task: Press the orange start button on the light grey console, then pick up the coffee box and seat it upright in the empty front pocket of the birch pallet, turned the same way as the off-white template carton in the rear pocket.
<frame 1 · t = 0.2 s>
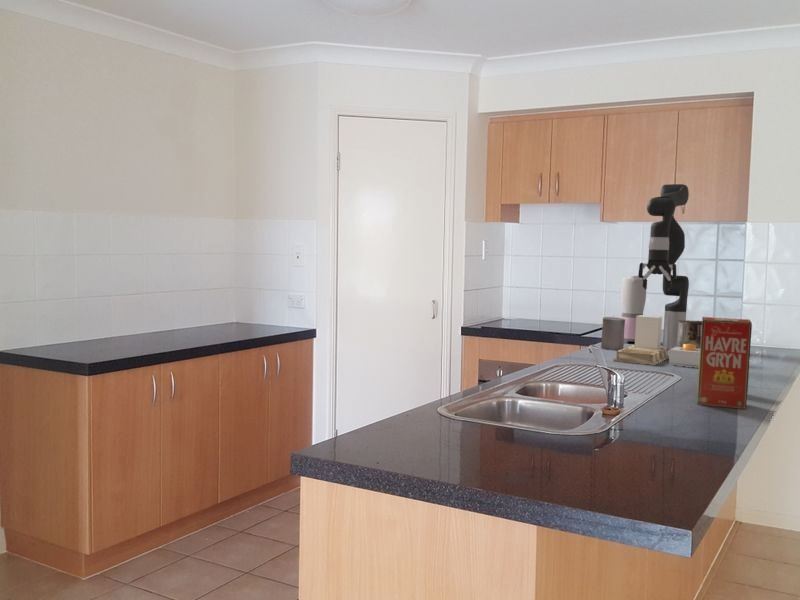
hand: (656, 289, 301), 29 cm above the counter, tool pointing down, fingers open, 8 cm apart
template carton: (646, 357, 312), resting on pallet
pillar candle: (612, 349, 336), on the counter
blender: (630, 342, 362), on the counter
coffee box: (689, 360, 308), on the counter
start button: (688, 350, 294), point 6 cm above the counter, slide at 0.0 cm
pallet: (642, 359, 306), on the counter
start console: (688, 364, 295), on the counter
food packaging: (721, 404, 220), on the counter
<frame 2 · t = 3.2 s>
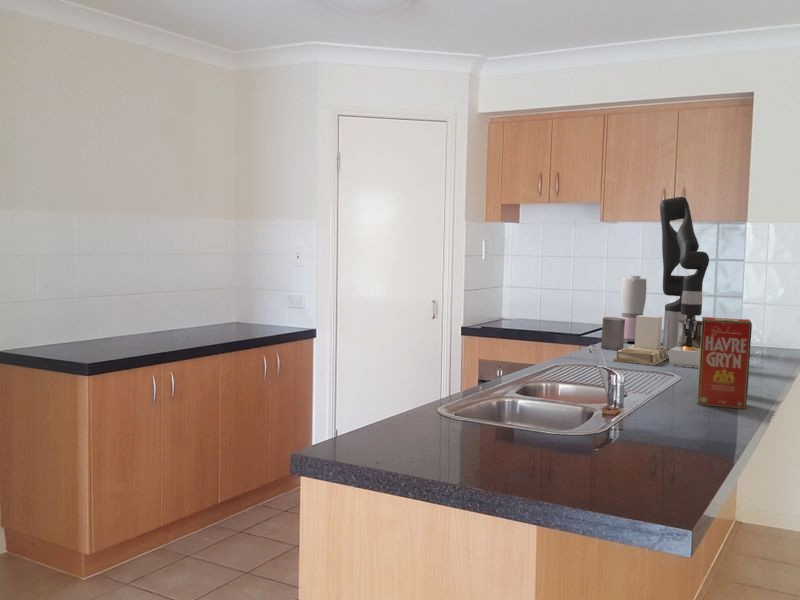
hand: (689, 346, 294), 7 cm above the counter, tool pointing down, fingers closed
start button: (688, 353, 294), point 5 cm above the counter, slide at 0.9 cm, touching gripper
everything else where it was.
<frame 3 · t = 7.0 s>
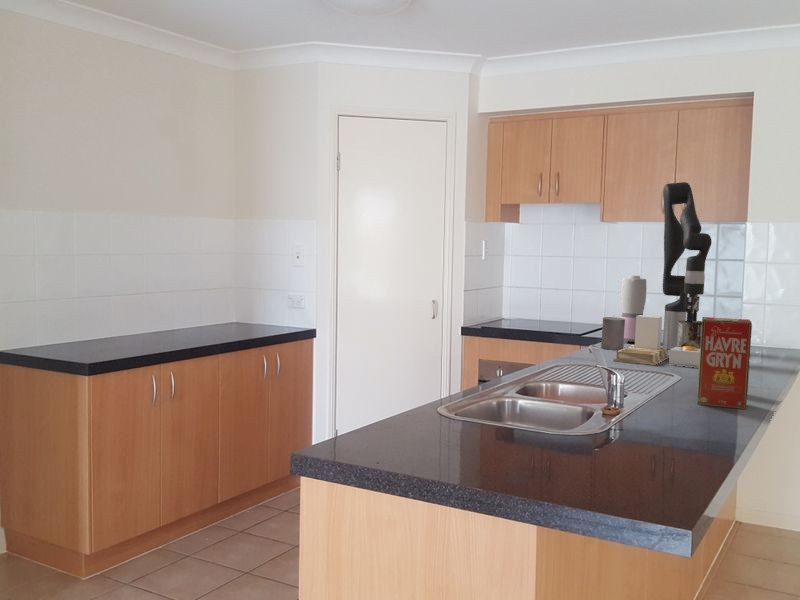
hand: (691, 322, 306), 16 cm above the counter, tool pointing down
coffee box: (689, 361, 308), on the counter, touching gripper
start button: (688, 353, 294), point 5 cm above the counter, slide at 1.0 cm
everything else where it was.
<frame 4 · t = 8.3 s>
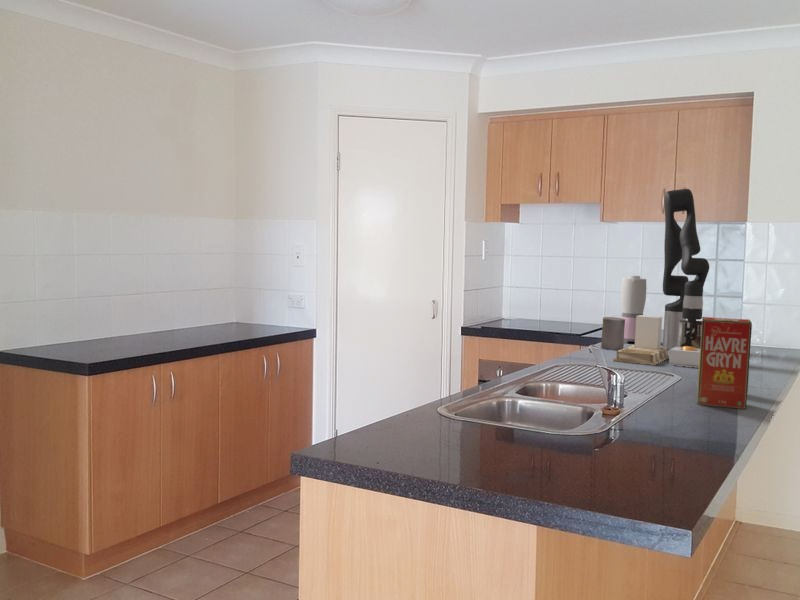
hand: (690, 346, 307), 5 cm above the counter, tool pointing down, fingers closed on coffee box, 8 cm apart
coffee box: (689, 360, 307), on the counter, touching gripper
everything else where it was.
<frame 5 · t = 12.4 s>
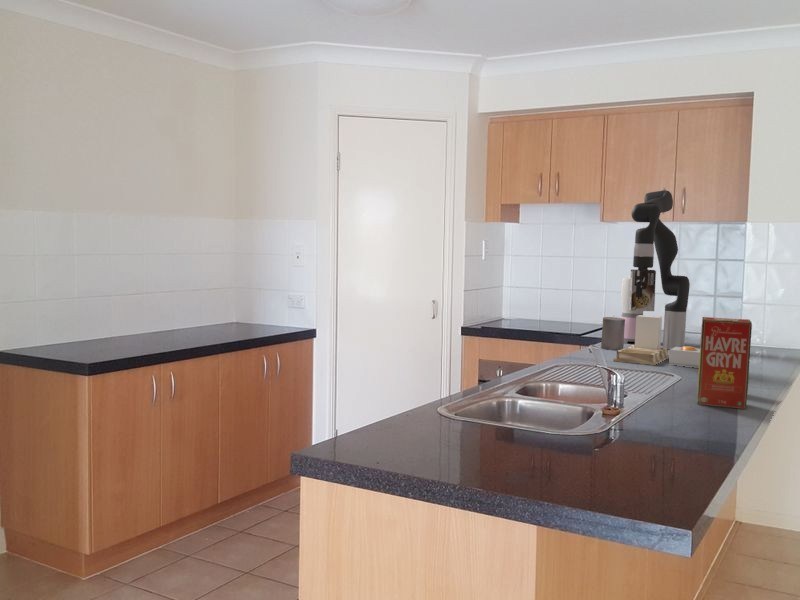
hand: (641, 296, 297), 26 cm above the counter, tool pointing down, fingers closed on coffee box, 8 cm apart
coffee box: (641, 311, 298), point 20 cm above the counter, touching gripper
everything else where it was.
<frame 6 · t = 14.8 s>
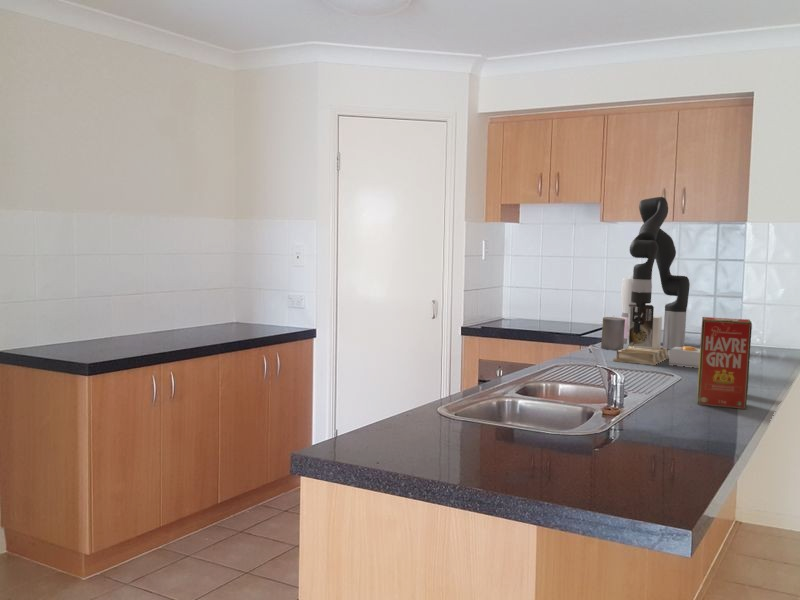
hand: (639, 331, 299), 12 cm above the counter, tool pointing down, fingers closed on coffee box, 8 cm apart
coffee box: (639, 346, 299), point 6 cm above the counter, touching gripper
everything else where it was.
when the fingers open (8 cm above the counter, at t = 16.6 s): coffee box drops 1 cm, resting on pallet.
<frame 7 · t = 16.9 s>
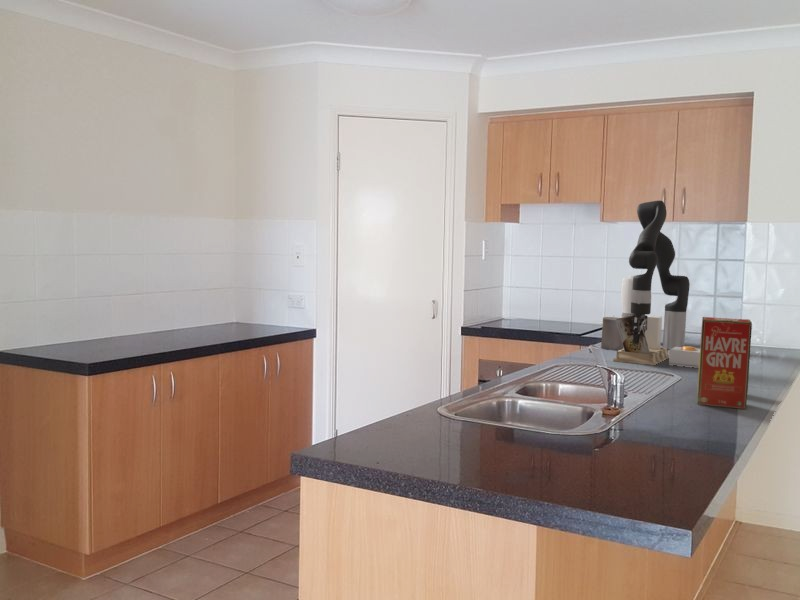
hand: (638, 342, 299), 8 cm above the counter, tool pointing down, fingers open, 8 cm apart
coffee box: (638, 355, 300), point 2 cm above the counter, touching gripper, pallet
everything else where it was.
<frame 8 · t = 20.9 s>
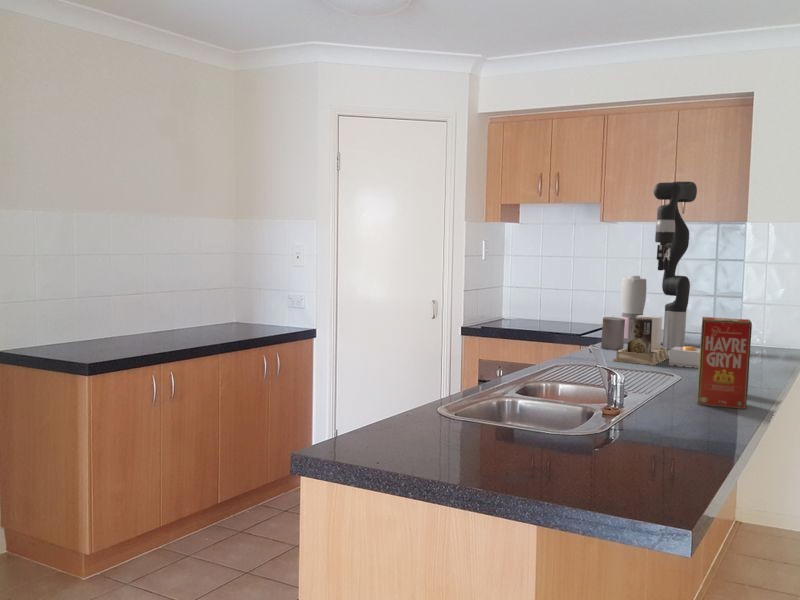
hand: (662, 270, 313), 36 cm above the counter, tool pointing down, fingers open, 8 cm apart
coffee box: (638, 359, 300), point 1 cm above the counter, touching pallet
everything else where it was.
at the end: start button slide at 1.0 cm; coffee box 0.6 cm from the target spot on the pallet, point 0.8 cm above the pallet's base; coffee box tilted 0° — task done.
